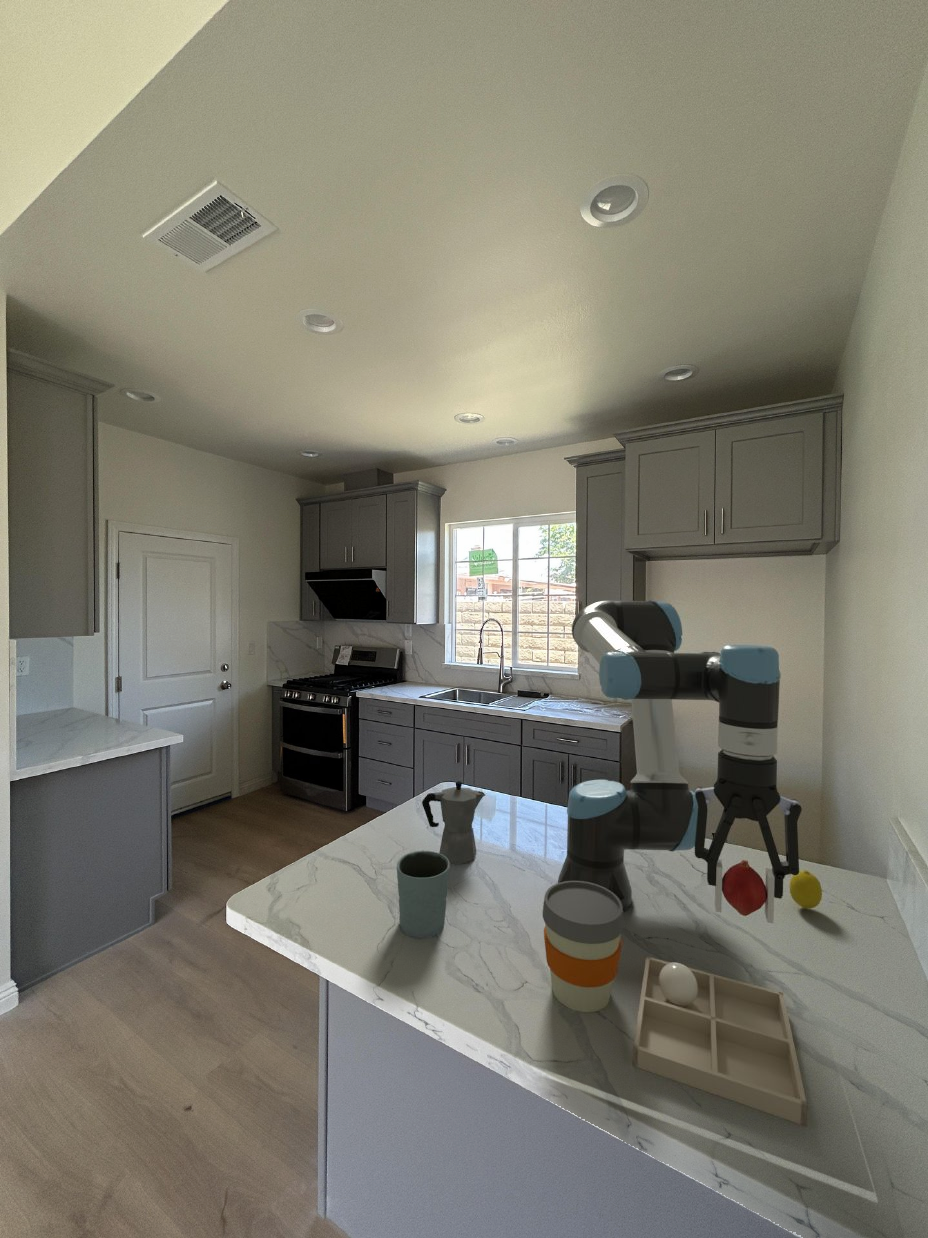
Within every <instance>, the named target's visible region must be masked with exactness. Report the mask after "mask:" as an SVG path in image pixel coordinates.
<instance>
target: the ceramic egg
mask: <svg viewBox="0 0 928 1238" xmlns="http://www.w3.org/2000/svg"><path fill="white" fill-rule="evenodd" d="M688 967H689V966H688ZM688 967H687V966H686V965H684V964H683V963H681V962H677V961H675V962H670V963H669V964H667V965H665V966H664V967H663V968H662V970H661V972H660V975H659V985H660V988H661V991H662V993H663V994H664V996H665V997H666V998H667V999H668V1000H669V1001H670V1002H671V1003H673V1004H675V1005H678V1006H687V1005H690V1004H691V1003H692V1002H693V1001H694V1000H695V999H696V997H697V993H698V984H697V981H696V978H695V976H694V974H693V973H692V971H691V970H690V969H689V968H690V967H689V968H688Z"/></svg>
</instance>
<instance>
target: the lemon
mask: <svg viewBox="0 0 928 1238" xmlns="http://www.w3.org/2000/svg"><path fill="white" fill-rule="evenodd" d="M789 894H790V895H791V896H790V897H791V898H792V900H793V901H794V902H795V903H796V904H797V905H798V906H800V907H801V908H802V909H803V910H808V909H814V908H816V907H817V906H819V904H820V903H821V901H822V897H823V891H822V886H821V883H820V881H819V879H818V878H817V876H816V875H814V874H813V873H811V872H809V870H806V869H805V870H799V874H798V875H792V876H791V879H790V881H789Z"/></svg>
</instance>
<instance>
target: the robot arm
mask: <svg viewBox="0 0 928 1238" xmlns="http://www.w3.org/2000/svg"><path fill="white" fill-rule="evenodd" d="M571 634H572V639H573V641H574V642H575V644H576V645H577V646H578V648H580V649H581V650H582V651H583V652H586V653H589V654H590V655H591V656H592V658H594V660H595V661H596V662H597V663H598V664H599V670H598V671H599V672H598V675H599V676H598V677H599V678H598V679H599V685H600V689H601V692H602V694H603V695H604V697H607V698H609V699H611V698H612V699H622V700H625V701H627V700H631V701H630V702H631V709H632V710H631V711H632V712H631V713H632V728H633V737H634V752H635V762H636V763H635V765H636V774H635V775H634V777H633V778H632V779H631V780H630V790H629V789H628V790H626V787H625V785H623V784H622V783H621V782H618V781H615V780H608V779H593V780H586V781H582V782H580V783H578V784H577V785H575V786H573V787H572V788H571V790H570V792H569V794H568V800H567V808H566V814H567V826H566V827H567V828H566V829H567V830H566V831H567V833H566V834H567V837H566V838H567V839H566V856H565V859H564V862H563V865H562V867H561V870H560V872H559V876H558V879H557V883H560V882H565V881H584V882H590V883H594V884H597V885H600V886H602V887H604V888H606V889H608V890H610V891H611V892H613V893H614V894H615V895H616V896H617V897H618V898H619V899H620V901H621V903H622V907H623V913H624V912H625V911H627V910H628V909H629V908H630V906H631V905H632V901H633V900H632V894H633V892H632V886H631V883H630V880H629V877H628V873H627V869H626V866H625V861H624V860H625V850H636V851H637V850H639V851H646V850H647V851H669V852H677V851H688V850H692V849H694V856H695V857H696V858H697V859H701V860H703V861H705V862H706V863H707V866H706V867H707V869H706V870H707V871H706V881H707V884H708V886H713V887H714V889H715V890H714V906H715V908H714V909H715V912H718V913H722V908H723V907H722V904H723V903H722V900H723V899H722V898H723V892H722V878H723V861H722V859H719V858H720V856H721V854H722V851H723V848H724V846H725V843H726V841H727V839H728V836H729V833H730V830H731V828H732V826H733V825H734V822H735V820H736V819H740V820H741V819H747V820H751V821H752V822H758V826H759V829H760V832H761V834H762V838H763V841H764V845H765V848H766V851H767V855H768V858H769V860H770V864H771V868H770V867H769V868H768V867H765V883H764V884H765V887H766V890H767V898H766V902H765V903H764V915H765V918H766V922H767V923H768V924H769V923H770V924H774V917H775V916H774V915H775V914H774V911H775V899H780V900H782V898H783V895H784V879H785V877H786V876H787V875H792V876H793V875H798V874H799V871H800V861H799V860H800V857H799V836H798V835H799V834H798V833H799V832H798V821H799V818H800V815H801V813H802V810H803V808H802V806H801V805H800V802H799V801H798V800H797V799H795V798H791V799H789V798H787V797H784V796H782V795H780V792H779V791H778V787H777V783H778V781H777V779H778V777H777V776H778V760H777V759H776V757H775V755H776V754H777V755H778V728H779V727H778V724H779V723H778V722H779V705H780V704H779V703H780V682H781V675H782V674H781V671H780V655H779V652H778V650H776V648H774V647H772V646H767V645H757V644H756V645H755V644H753V645H752V644H751V645H750V644H728V645H727V644H726V645H725V646H722V649H721V650H720V652H716V651H701V652H696V653H695V652H694V653H693V652H692V653H691V652H690V653H689V652H684V653H683V652H678V653H677V651H678V650H679V649H680V648H681V645H682V642H683V638H682V636H683V625H682V621H681V619H680V614H679V613H678V611H677V610H676V608H675V607H674V606H673V605H672V604H670V603H669V602H667V601H656V600H652V599H650V600H600V601H596V602H593V603H591V604H588V605H587V606H585V607H584V608H582V609H581V610H580V611H579V612H578V613H577V614H576V616H575V617H574V618H573V622H572V625H571ZM673 700H678V701H679V700H682V701H683V700H684V701H685V700H686V701H714V702H717V703H718V707H719V708H718V715H719V716H718V731H717V732H718V735H717V736H718V737H717V738H718V740H717V745H718V748H720V749H721V750H720V751H719V752H718V753H717V775H716V776H717V778H716V781H715V783H714V784H713V786H711V787H705V788H703V787H701V786H697V787H695V789H694V791H692V790H690V789H689V782H688V780H686V779H685V778H684V777H683V776H682V774H681V773H680V767H679V759H678V747H677V737H676V727H675V717H674V716H675V715H674V709H673ZM713 797H716V799H718V801H719V802H720V803H721V805H722V807H723V810H722V814H721V817H720V820H719V822H718V825H717V826H716V827H717V828H716V830H715V832H714V835H713V838H712V840H711V842H710V846H709V847H708V848H706V847H705V844H706V843H705V842H706V833H707V821H708V805H709V804H712V802H713ZM778 805H779V806H780V810H781V812H782V814H783V816H784V817H783V818H784V819H783V820H784V839H785V841H784V843H785V844H784V845H785V860H784V861H781V859H780V856H779V853H778V850H777V849H778V848H777V845H776V843H775V839H774V837H773V836H774V835H773V834H772V830H771V827H770V824H769V820H768V817H767V816H768V815H769V814H770V813H771V812H772V811H773V810H774V809H775V808H776V807H777V806H778Z"/></svg>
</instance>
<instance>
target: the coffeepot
mask: <svg viewBox="0 0 928 1238" xmlns="http://www.w3.org/2000/svg"><path fill="white" fill-rule="evenodd" d="M454 784H455V786H453V787H448V788H445V789H442V790H441V792H440V791H439V792H430V793H427V795H425V797H424V798H423V799H422V801H421V805H422V808H423V810H424V813H425V816H426V818H427V822H428V824H429V827H430V828H438V827H439V825H440V823H439V822H434V815H433V813H432V809H431V805H430V802H440V809H441V817H442V822H443V823H444V827H443V831H442V835H441V842H440V848H439V852H438V853H440V854H442V855H444V856H445V857H446V858H447V859H448V860H449V863H450V864H453V865H455V864H456V865H460V864H461V865H462V864H468V863H470V862H472V861H474V860H475V858H476V854H477V846H476V840H475V833H474V827H473V822H474V819H475V812H476V811H475V810H476V809H477V807H478V806H479V803H480V802H481V800H483V798H484V797H485V796H486V794H485V792H483V791H480V790H473V789H471V788H469V787H462V785H463V782H462V781H455V783H454Z"/></svg>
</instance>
